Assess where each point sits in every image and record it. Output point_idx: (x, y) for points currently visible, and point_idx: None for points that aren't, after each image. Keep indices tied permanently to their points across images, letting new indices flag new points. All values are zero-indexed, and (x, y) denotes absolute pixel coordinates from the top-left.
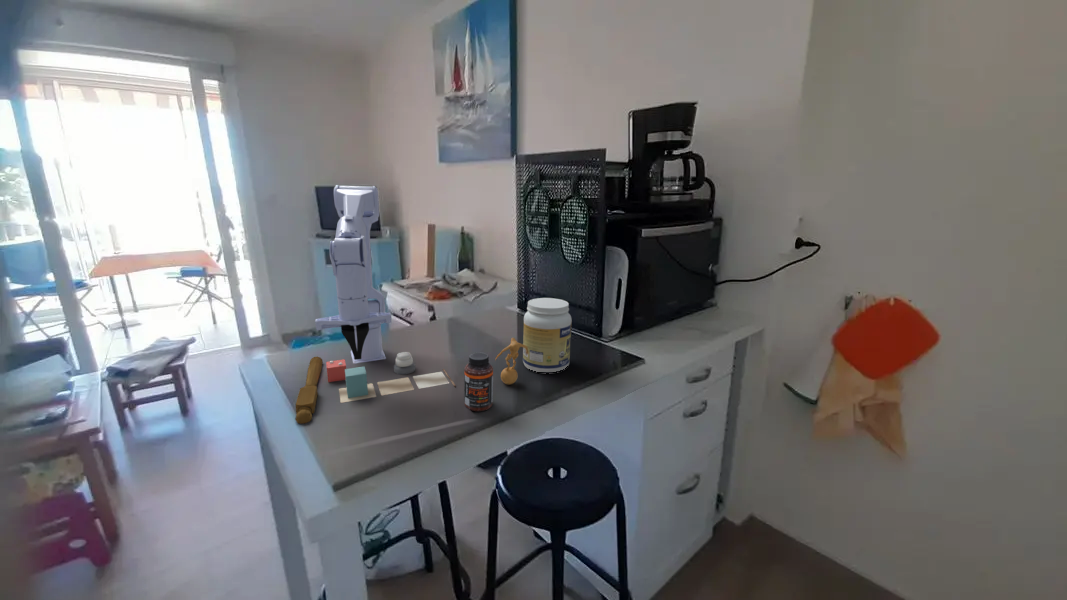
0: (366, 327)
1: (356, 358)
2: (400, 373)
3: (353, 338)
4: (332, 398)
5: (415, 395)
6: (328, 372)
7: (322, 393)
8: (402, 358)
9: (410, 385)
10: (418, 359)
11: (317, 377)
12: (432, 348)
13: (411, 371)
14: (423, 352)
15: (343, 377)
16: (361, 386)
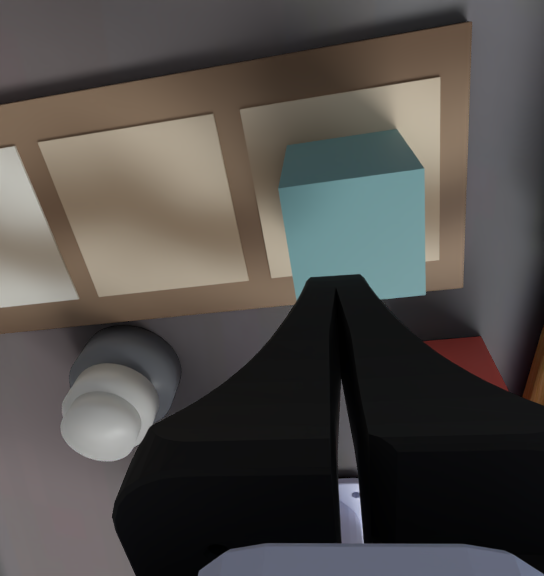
0: (157, 536)
1: (346, 277)
2: (141, 339)
3: (382, 384)
4: (474, 181)
5: (31, 95)
6: (495, 378)
7: (518, 252)
8: (102, 401)
9: (69, 200)
10: (92, 460)
11: (539, 377)
12: (52, 529)
13: (89, 343)
14: (83, 508)
15: None
16: (319, 157)
